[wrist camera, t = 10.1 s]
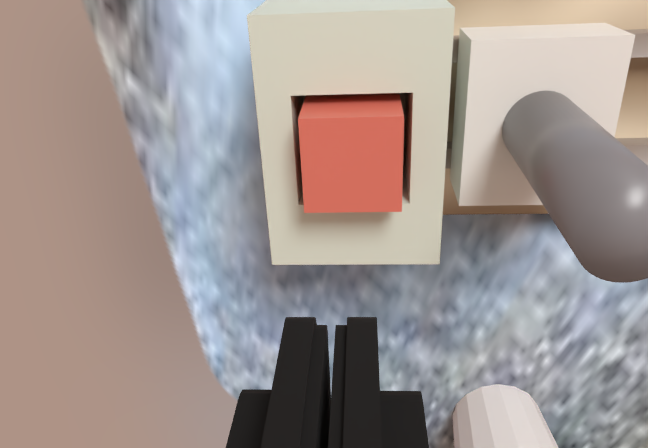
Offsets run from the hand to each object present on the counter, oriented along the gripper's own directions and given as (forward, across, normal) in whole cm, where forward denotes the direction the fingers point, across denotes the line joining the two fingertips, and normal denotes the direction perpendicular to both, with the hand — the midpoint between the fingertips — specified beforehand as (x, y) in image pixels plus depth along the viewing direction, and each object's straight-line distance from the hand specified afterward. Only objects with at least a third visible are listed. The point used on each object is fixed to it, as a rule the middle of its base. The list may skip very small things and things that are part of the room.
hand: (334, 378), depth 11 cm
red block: (+15, 0, 0) cm, 15 cm away
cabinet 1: (+20, 0, 0) cm, 20 cm away
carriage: (+18, -8, 0) cm, 19 cm away
